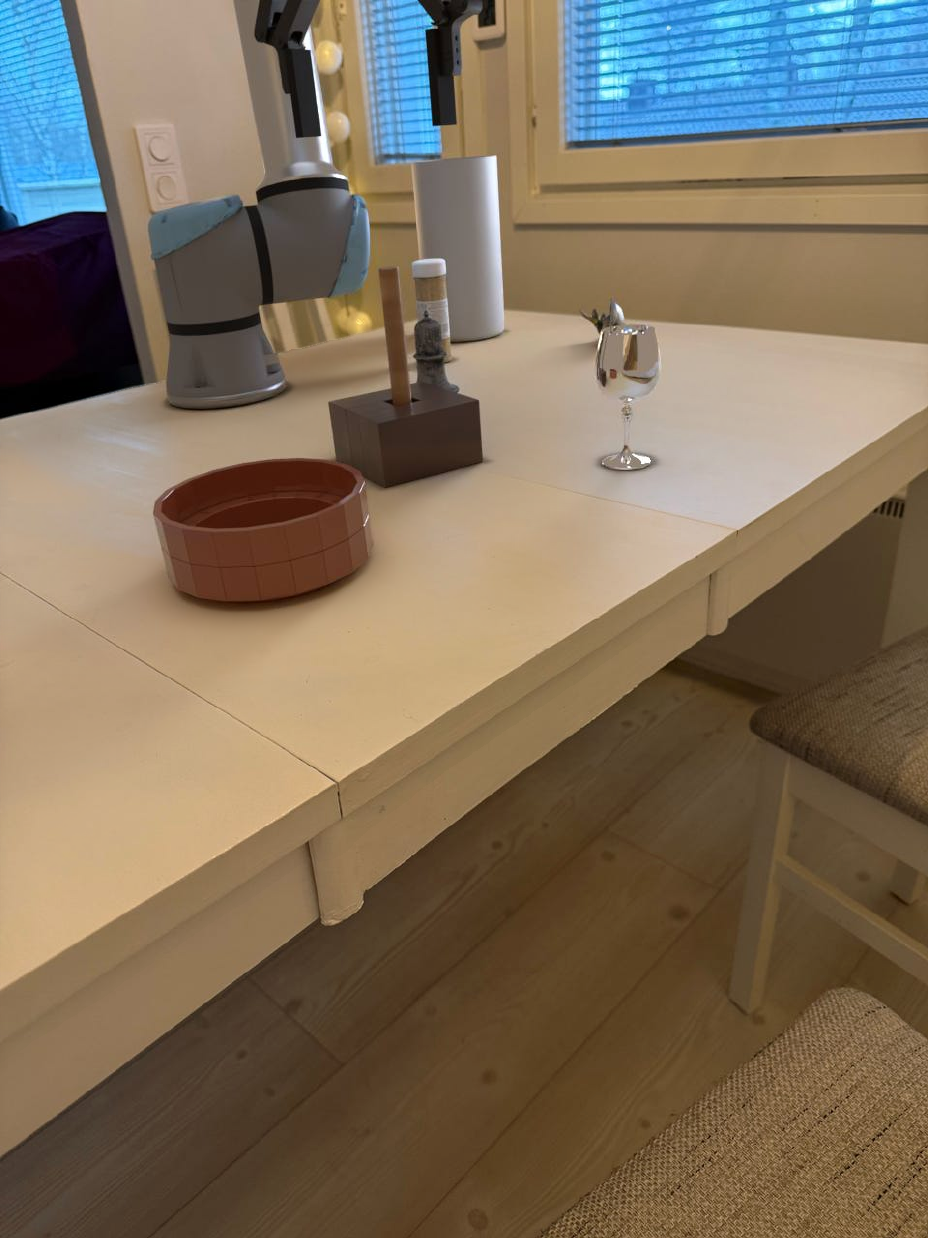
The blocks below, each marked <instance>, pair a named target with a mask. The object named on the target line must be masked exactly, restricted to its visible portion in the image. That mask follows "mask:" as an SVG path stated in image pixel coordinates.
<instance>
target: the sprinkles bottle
mask: <svg viewBox="0 0 928 1238" xmlns="http://www.w3.org/2000/svg"><path fill="white" fill-rule="evenodd" d="M411 273H412V275H411V276H412V277H413V278H412V279H413V281H414V291H415V309H416V317H417V322H419V321H421V320H422V319H423V318H424V315H423V314H424V312H425V310H427V312H428V313H429V315H428V316H429V318H431V319H432V320H436V321H437V322H438V323H439V324H440V326H441V335H442V347H443V351H444V352H446V353H447V354H446V356H445V357H444V364H445V363H448V362H450V361H451V360H452V359H453V354H452V346H451V342H450V330H449V316H448V303H447V294H446V284H445V277H446V275H445V274H446V266H445V260H443V259H423V260H419V259H418V260H415V261H412V262H411Z"/></svg>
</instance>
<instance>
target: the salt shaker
mask: <svg viewBox="0 0 928 1238" xmlns="http://www.w3.org/2000/svg"><path fill="white" fill-rule="evenodd" d="M423 315H424V318H423V319H422V320H421V321H419V322H418V321H417V322H416V323H415V325H414V326H413V333H414V335H413V336H414V344H415V353H414V354H413V355H412V358H413V359H414V360H415V362H416V363H415V364H416V374H417V375H416V383H418V382H422V381H423V382H426V383H429V384H432V385H435V386H438V387H441V388H444V389H447V390H450V391H453V392H456V393H459V392H460V387H459V385H456V384H453V383H450V382H449V381H448V377H447V374H446V364H445V363H444V357H445V356H446V354H447V353H446V352H444V351H443V347H442V335H441V326H440V324H439V323H438V322H437V321H436V320H432V319H431V318H429V316H428V315H429V313H428V312H427V310H425V312H424V314H423Z"/></svg>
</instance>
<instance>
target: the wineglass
mask: <svg viewBox="0 0 928 1238" xmlns="http://www.w3.org/2000/svg"><path fill="white" fill-rule="evenodd" d="M661 371H662V361H661V351H660V344H659V340H658V335H657V330H656V328H655V327H654V326H652V325H648V324H635V323H634V324H632V323H631V324H626V325H617V326H611V327H607V328H604V329H602V330H601V333H600V335H599V338H598V342H597V347H596V353H595V358H594V377H595V384H596V386H597V388H598V390H599V392H600V393H601V394H602V395H603V396H604V397H606V398H607V399H609V400H611V401H613V402H616V403H620V404H623V407H622V408H621V412H620V414H621V421H622V426H623V446H622V450H621V451H620V453H616V454H611V455H608V456H605V457H604V458H603V459H602V461H601V464H602V466H604V467H606V468H608V469H612V470H617V471H618V470H619V471H632V470H639V469H643V468H645V467H648V466H649V465H650V464H651V462H652V461H651V459H650V458H649V457H648V456H646V455H643V454H639V453H634V452H632V450H631V447H630V427H631V424H632V423H631V422H632V419H633V408H632V406H631V404H632V403H637V402H639V401H641V400H643V399H645V398H647V397H648V396H650V395H651V394H653V392H654V391H655V390H656V388H657V386H658V384H659V381H660V376H661Z"/></svg>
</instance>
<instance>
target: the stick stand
mask: <svg viewBox="0 0 928 1238" xmlns="http://www.w3.org/2000/svg"><path fill="white" fill-rule="evenodd" d="M410 390H411V401H412V403H409V404H405V405H400V406H394V405H393V400H392V391H391V387H390V388H386V389H381V390H376V391H371V392H368V393H362V394H357V395H352V396H349V397H345V398H344V397H343V398H339V399H335V400H330V401H328V402H327V404H328V411H329V420H330V426H331V432H332V440H333V446H334V453H335V462H339V463H344V464H347V465H349V466H351V467H353V468H355V469H357V470H358V471H360V472H361V474H362V476H363V477H365V478H367V479H368V480H371V481H372V482H374V483H375V484H378V485H379V486H381V487H383V488H389V487H394V486H397V485H400V484H404V483H407V482H412V481H415V480H419V479H422V478H426V477H431V476H434V475H438V474H441V473H442V474H443V473H445V472H450V471H453V470H456V469H460V468H464V467H468V466H472V465H475V464H479V463H482V462H484V457H483V442H482V426H481V408H480V400H479V399H477V398H474V397H471V396H468V395H465V394H462V393H459V392H457V393H456V392H453V391H450V390H447V389H444V388H441V387H438V386H435V385H432V384H429V383H426V382H423V381H422V382H418V383H417V382H414V383H410Z"/></svg>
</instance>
